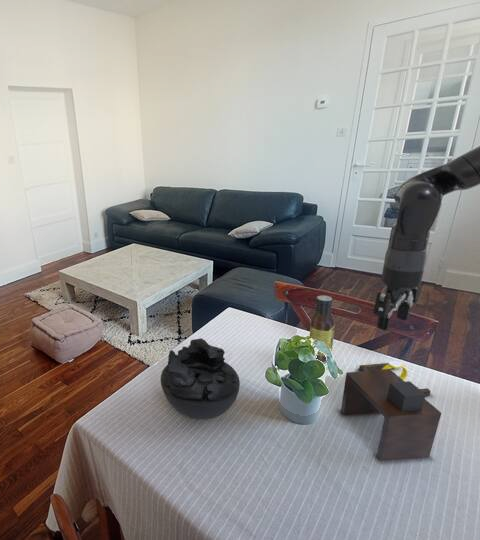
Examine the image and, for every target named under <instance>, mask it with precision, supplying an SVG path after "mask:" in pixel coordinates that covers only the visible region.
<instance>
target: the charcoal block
mask: <svg viewBox="0 0 480 540" xmlns="http://www.w3.org/2000/svg"><path fill="white" fill-rule="evenodd" d="M420 389H421V388H419V387H418V386H416V385H415V384H414V383H413V382H411V380H408V381H404V382H395V383H390V386H389V391H388V395H387V399H389V400H390V401H391V402H392V403H393V404H394V405H395V406H396V407H397V408H398V409H399V410H400V411H401V412H407V411H420V410H422V407H423V403H424V399H426V396H425V395H426V394H424V393H423V392H422V391H421V390H420Z"/></svg>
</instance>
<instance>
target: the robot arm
mask: <svg viewBox="0 0 480 540" xmlns="http://www.w3.org/2000/svg"><path fill="white" fill-rule="evenodd" d="M479 185H480V145H479V146H477V147H475V148H473V149H471V150H469V151H467V152H465V153H463V154H461V155H460V156H457V157H456V158H454V159H452V160H451V161H448V162H446V163H444V164H442V165H439V166H436V167H434V168H431V169H428V170H426V171H424V172H421V173H418V174H417V175H414V176H412V177H409V178H408V179H407V180H405V181H403V182H402V183H401V184H399V186H397V187H396V189H395V191H394V194H393V199H394V202H395V203H396V205H398V206H399V207H398V214H397V219H396V222H395V223H394V224H393V225H392V227H391V230H390V233H389V234H390V235H389V239H388V246H387V249H386V252H385V255H384V260H383V267H382V274H381V278H380V279H381V282H383V284H385V286H386V289H385V290H384V292H381V291H378V292H377V293H376V297H375V302H374V307H373V312H372V313H373V315H375V316H377V317H378V318H377V324H376V327H377V328H378V329H380V330H383V331H387V330H389V328H390V322H391V316H392V315H393V313H394V312H395V311H397V313H396V318H397V319H399V320H403V321H408V320H409V315H410V312H411V308H412V306H413V305H414V304H416V303H417V302H418V300H419V295H420V290H421V289H420V288H421V285H422V281H423V276H424V271H425V267H426V263H427V251H428V245H429V241H430V236H431V230H432V228H433V226H434V224H435V222H436V219H437V217H438V215H439V213H440V209H441V207H442V201H443V196H446V195H448V194H450V193H453V192H457V191H465V190H466V191H467V190H470V189H473V188H475V187H477V186H479Z"/></svg>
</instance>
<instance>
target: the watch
mask: <svg viewBox="0 0 480 540" xmlns="http://www.w3.org/2000/svg"><path fill="white" fill-rule="evenodd" d="M387 363H388V365H386V366H384V367H383V369H390V370H392V369H391V368H394V369H393V370H400V369H402V372H401V374H400V375H398V377H400V378H401V379H402V380H403V381H405V380H406V378H407V376H408V370H407V368H406V367H405V366H404V365H403V364H402V363H401V362H399V361H396V360H389V361H388V362H387ZM383 369H382V370H383Z"/></svg>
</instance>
